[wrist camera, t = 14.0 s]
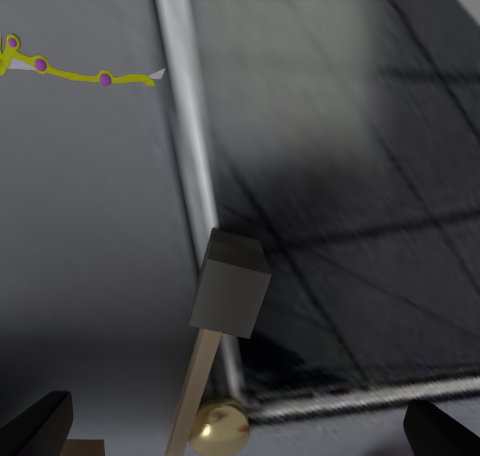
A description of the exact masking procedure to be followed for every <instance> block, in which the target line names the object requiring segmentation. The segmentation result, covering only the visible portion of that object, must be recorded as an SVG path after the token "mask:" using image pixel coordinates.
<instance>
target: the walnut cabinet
mask: <svg viewBox="0 0 480 456" xmlns="http://www.w3.org/2000/svg"><path fill="white" fill-rule="evenodd" d="M60 456H105V449H104V440H80V439H66V441H65V443H64V446H63V448H62V451H61V453H60Z"/></svg>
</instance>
